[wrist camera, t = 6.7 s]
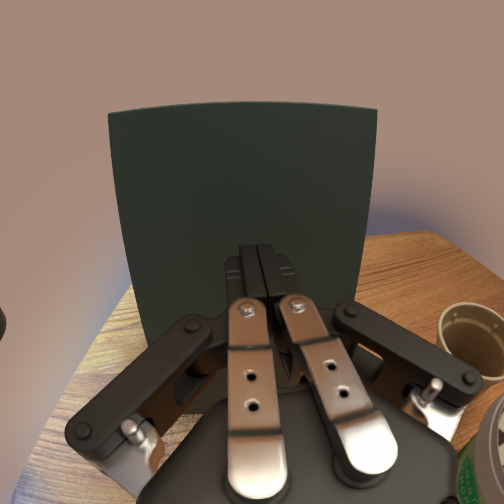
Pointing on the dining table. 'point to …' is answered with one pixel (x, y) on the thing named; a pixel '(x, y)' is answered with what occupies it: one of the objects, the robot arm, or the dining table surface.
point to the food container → (483, 460)
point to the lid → (240, 198)
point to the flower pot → (474, 339)
